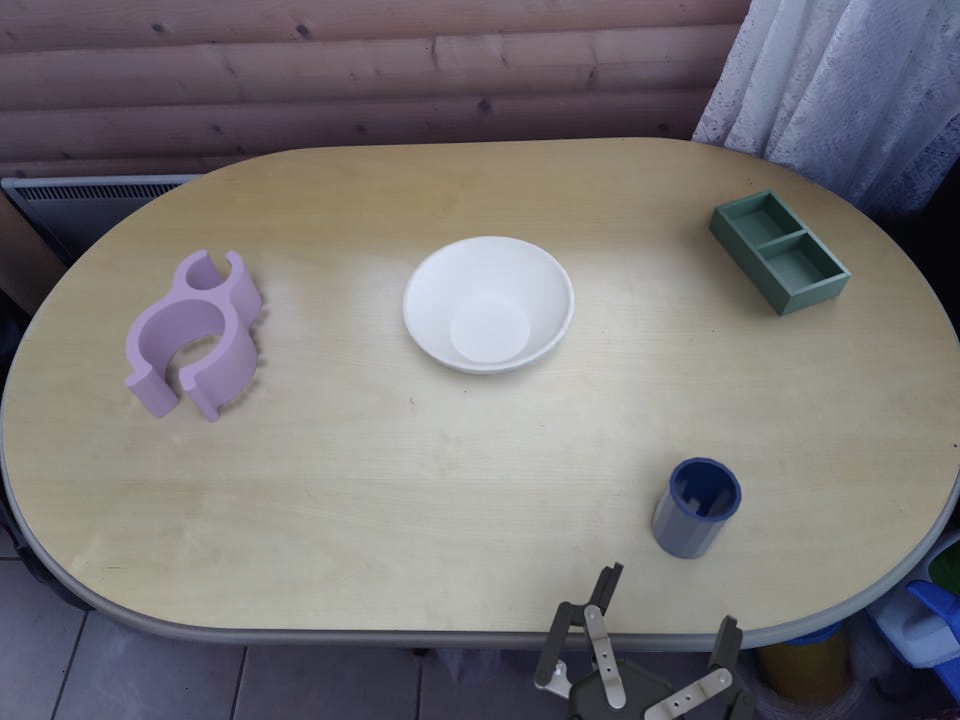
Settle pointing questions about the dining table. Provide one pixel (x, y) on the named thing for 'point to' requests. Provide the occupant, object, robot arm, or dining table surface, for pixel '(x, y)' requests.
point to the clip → (196, 336)
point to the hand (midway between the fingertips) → (672, 591)
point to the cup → (695, 507)
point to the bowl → (488, 304)
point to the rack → (778, 252)
